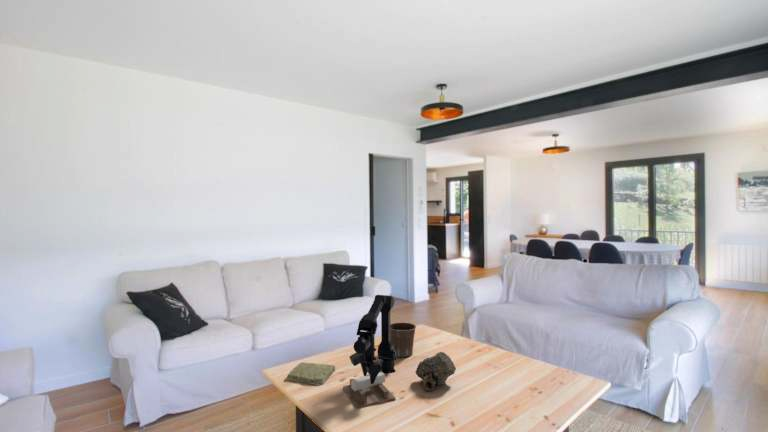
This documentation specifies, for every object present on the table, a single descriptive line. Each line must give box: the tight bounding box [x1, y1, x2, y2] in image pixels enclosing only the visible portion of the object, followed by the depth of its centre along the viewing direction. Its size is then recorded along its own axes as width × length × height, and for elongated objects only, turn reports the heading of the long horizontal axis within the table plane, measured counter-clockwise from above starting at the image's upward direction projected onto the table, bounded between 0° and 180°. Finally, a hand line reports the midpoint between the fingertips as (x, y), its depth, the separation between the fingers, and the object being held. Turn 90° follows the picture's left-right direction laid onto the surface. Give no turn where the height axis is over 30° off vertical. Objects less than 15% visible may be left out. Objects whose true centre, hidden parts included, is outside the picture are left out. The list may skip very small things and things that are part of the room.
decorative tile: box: [286, 362, 336, 386], centre depth 197 cm, size 19×20×4 cm
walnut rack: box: [342, 378, 397, 409], centre depth 177 cm, size 18×20×4 cm
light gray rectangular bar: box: [351, 371, 386, 391], centre depth 177 cm, size 16×3×4 cm, turn 123°
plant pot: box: [390, 322, 417, 358], centre depth 225 cm, size 16×16×16 cm
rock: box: [415, 351, 457, 392], centre depth 185 cm, size 18×14×15 cm
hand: (368, 379), depth 177 cm, fingers open, 9 cm apart
